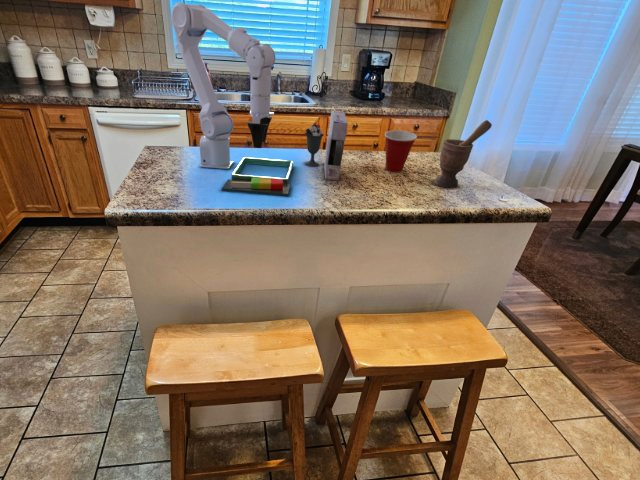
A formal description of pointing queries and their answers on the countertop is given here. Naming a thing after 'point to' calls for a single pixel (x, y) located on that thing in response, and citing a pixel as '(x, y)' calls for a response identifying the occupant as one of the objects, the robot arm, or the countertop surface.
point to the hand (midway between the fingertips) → (259, 144)
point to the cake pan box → (335, 145)
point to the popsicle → (264, 183)
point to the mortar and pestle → (457, 156)
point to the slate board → (247, 189)
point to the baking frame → (261, 162)
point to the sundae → (313, 142)
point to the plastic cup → (398, 149)
